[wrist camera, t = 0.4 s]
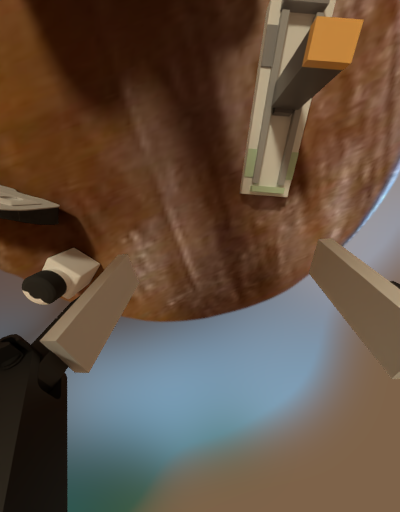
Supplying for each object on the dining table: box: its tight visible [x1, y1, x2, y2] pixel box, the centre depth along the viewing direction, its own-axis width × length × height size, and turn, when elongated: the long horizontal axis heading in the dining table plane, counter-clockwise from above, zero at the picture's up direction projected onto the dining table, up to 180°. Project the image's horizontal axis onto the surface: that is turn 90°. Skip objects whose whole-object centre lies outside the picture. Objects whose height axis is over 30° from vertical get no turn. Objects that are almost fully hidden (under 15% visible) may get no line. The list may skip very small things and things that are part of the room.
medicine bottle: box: [22, 248, 100, 304], centre depth 35 cm, size 7×7×12 cm
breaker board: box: [239, 0, 336, 197], centre depth 28 cm, size 26×9×4 cm, turn 176°
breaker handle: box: [271, 16, 364, 117], centre depth 22 cm, size 4×4×11 cm
